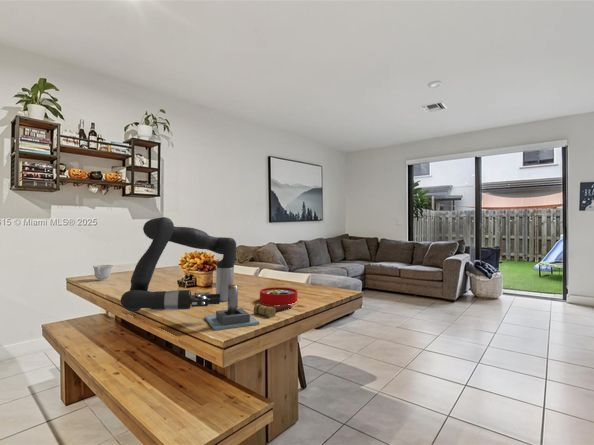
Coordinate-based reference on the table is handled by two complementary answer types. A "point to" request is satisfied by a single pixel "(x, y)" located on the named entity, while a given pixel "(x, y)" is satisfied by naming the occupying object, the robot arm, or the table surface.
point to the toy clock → (278, 296)
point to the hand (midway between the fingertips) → (220, 298)
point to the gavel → (269, 309)
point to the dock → (219, 326)
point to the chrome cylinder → (232, 299)
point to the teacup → (102, 271)
